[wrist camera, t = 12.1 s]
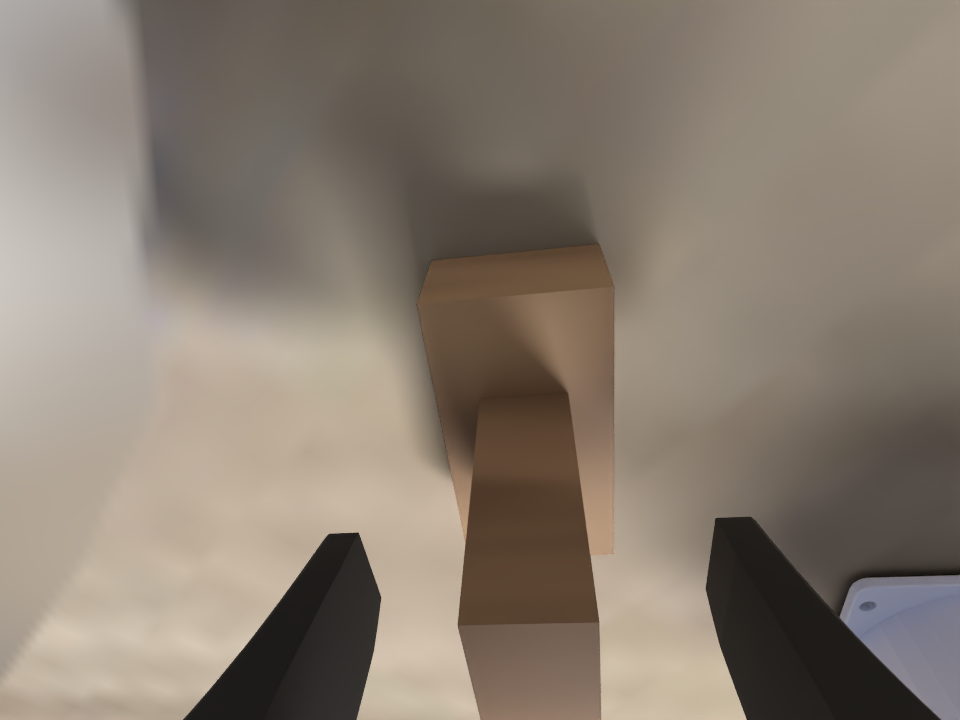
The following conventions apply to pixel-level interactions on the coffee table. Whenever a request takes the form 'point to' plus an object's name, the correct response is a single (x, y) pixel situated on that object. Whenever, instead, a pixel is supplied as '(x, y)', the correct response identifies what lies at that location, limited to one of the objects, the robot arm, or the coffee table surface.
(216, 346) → the coffee table surface
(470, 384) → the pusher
